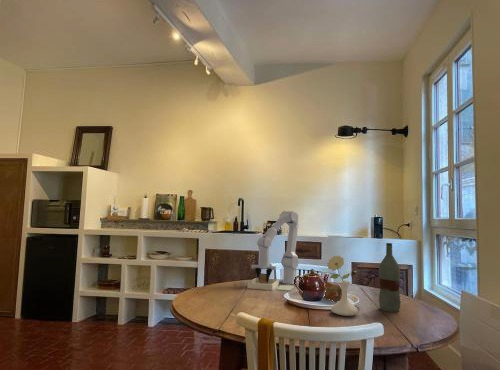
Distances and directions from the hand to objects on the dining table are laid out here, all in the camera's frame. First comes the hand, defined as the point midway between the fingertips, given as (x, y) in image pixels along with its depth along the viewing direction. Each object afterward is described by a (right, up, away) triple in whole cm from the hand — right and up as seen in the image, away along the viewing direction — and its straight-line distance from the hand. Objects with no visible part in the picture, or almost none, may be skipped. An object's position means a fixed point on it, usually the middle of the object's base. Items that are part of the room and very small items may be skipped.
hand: (263, 281), depth 212 cm
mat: (+12, -3, -4) cm, 13 cm away
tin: (+33, -2, -29) cm, 44 cm away
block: (0, -2, 0) cm, 2 cm away
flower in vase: (+32, 0, -55) cm, 64 cm away
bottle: (+56, -1, -46) cm, 72 cm away
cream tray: (0, -3, 0) cm, 3 cm away
